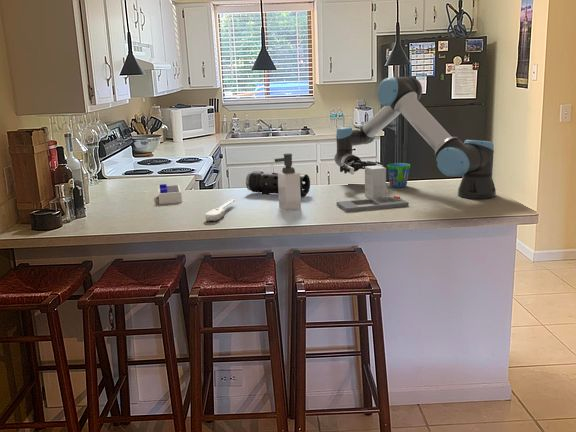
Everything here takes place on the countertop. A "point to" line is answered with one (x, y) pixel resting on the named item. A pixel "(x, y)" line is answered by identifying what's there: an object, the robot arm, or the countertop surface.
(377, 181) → the small box
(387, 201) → the socket strip
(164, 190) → the cable clip
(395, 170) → the snack cup
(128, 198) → the countertop surface
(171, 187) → the box
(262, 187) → the muzzle brake
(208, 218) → the white spoon
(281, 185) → the soap dispenser
